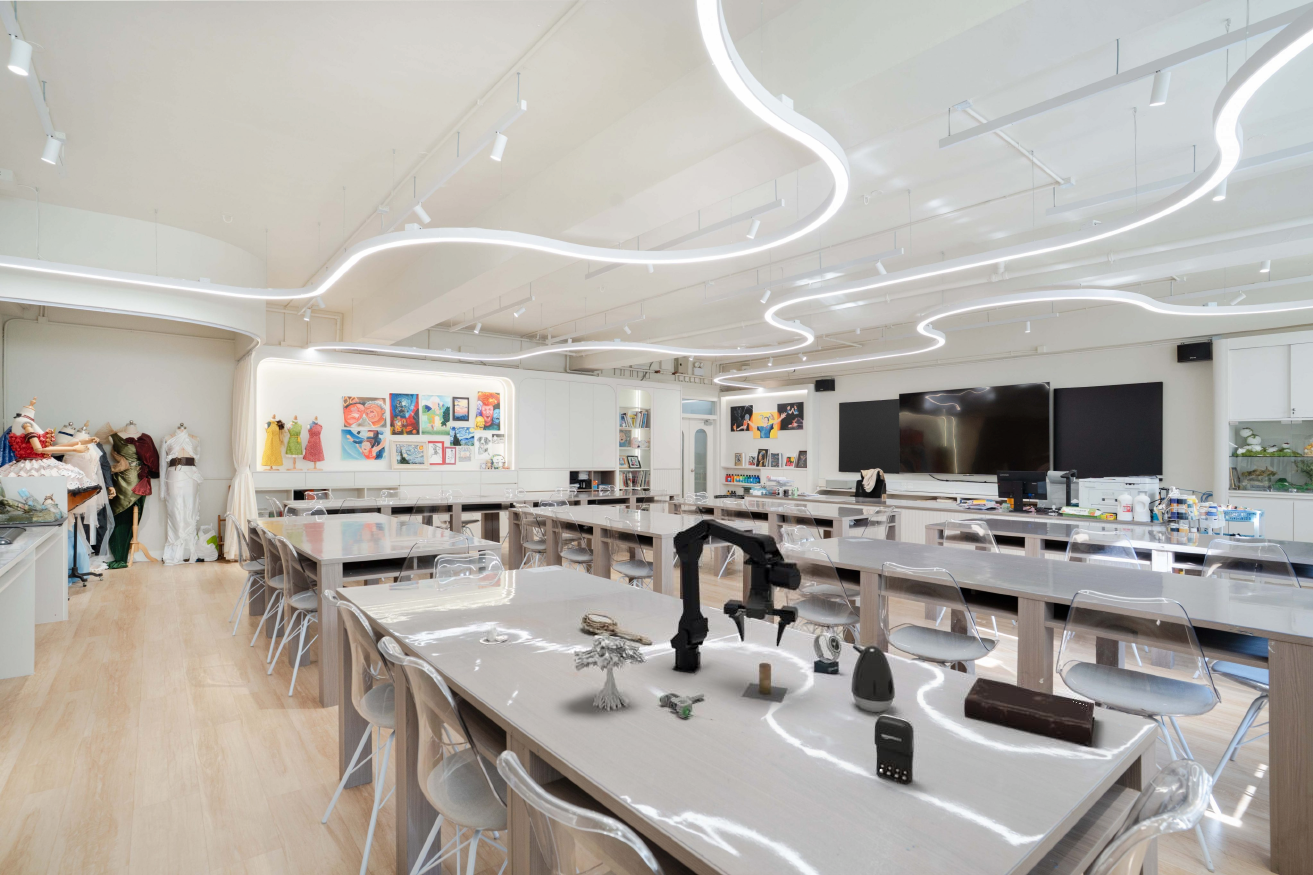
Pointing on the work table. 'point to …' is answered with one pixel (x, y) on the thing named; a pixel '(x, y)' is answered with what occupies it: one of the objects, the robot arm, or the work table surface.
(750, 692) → the mat
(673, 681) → the work table surface
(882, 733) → the battery charger
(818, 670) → the watch
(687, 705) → the mechanical component
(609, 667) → the tree
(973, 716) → the diary
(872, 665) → the pump dispenser
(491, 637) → the teacup and saucer
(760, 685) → the dowel
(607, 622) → the hand mirror
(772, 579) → the robot arm
